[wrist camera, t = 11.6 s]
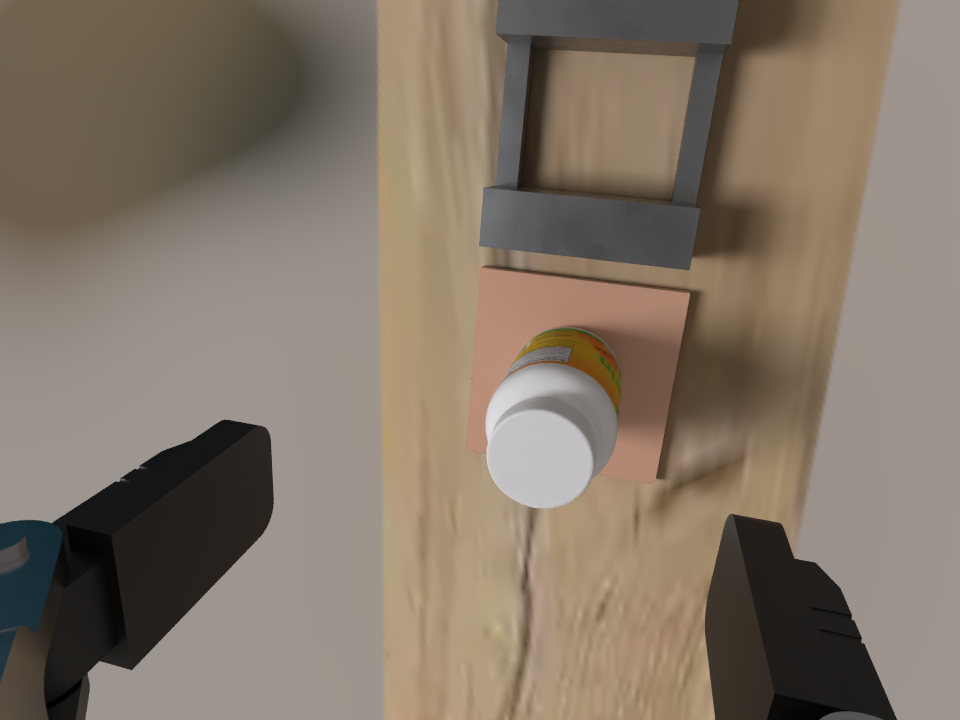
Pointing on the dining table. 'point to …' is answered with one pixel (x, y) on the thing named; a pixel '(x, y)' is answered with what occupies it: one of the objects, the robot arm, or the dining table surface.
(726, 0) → the bench vise
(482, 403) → the terracotta tile
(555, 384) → the supplement bottle
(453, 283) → the dining table surface
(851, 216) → the dining table surface
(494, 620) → the dining table surface
